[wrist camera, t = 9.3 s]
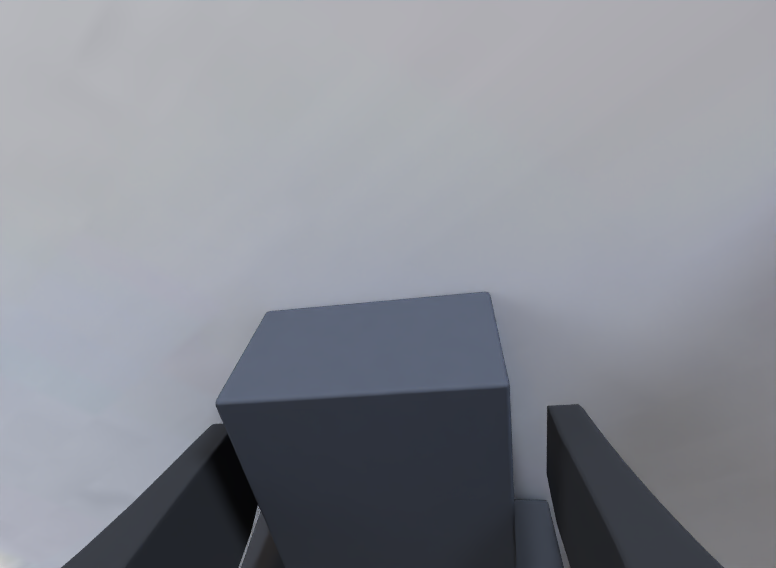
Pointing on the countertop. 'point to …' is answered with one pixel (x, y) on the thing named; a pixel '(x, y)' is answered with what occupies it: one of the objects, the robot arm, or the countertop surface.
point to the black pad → (532, 532)
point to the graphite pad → (378, 434)
